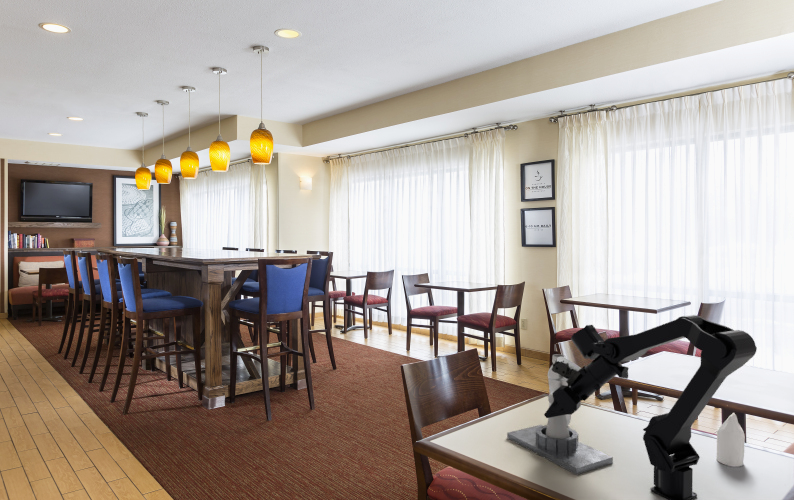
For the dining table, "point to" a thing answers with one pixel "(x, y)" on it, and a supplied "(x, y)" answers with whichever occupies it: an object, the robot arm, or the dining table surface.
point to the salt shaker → (557, 424)
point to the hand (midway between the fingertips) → (551, 410)
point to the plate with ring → (561, 449)
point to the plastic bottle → (557, 382)
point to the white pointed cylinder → (730, 442)
